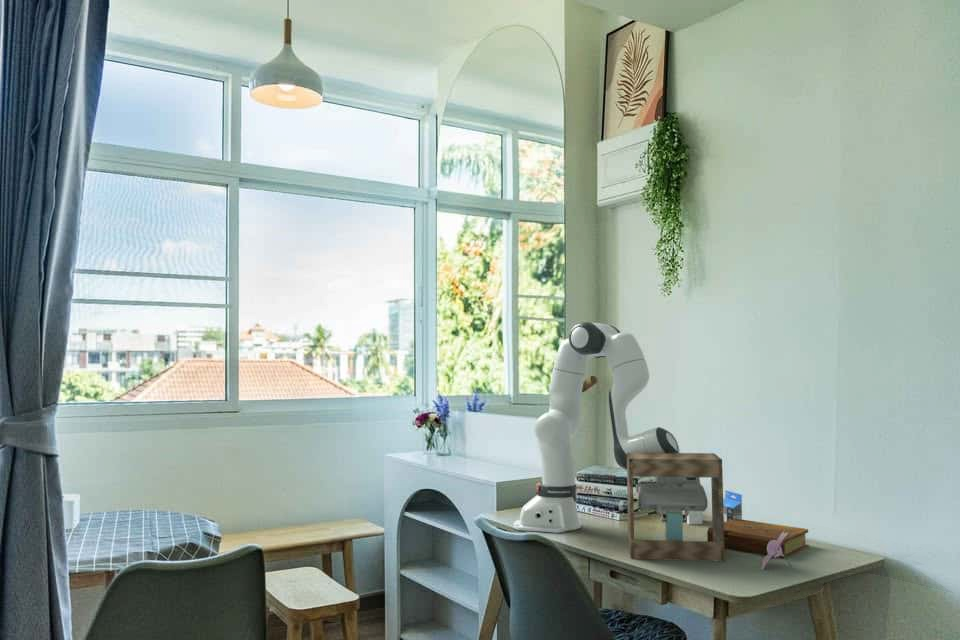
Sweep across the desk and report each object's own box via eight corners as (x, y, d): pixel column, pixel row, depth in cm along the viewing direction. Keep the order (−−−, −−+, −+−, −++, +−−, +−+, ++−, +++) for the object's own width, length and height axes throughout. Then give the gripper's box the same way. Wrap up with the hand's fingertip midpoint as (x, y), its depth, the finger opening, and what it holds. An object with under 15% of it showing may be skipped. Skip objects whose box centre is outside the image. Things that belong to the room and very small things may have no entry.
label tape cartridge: (716, 528, 252) (715, 490, 252) (726, 527, 253) (725, 490, 254) (733, 534, 243) (732, 495, 244) (743, 533, 245) (742, 494, 245)
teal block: (666, 552, 220) (667, 513, 221) (665, 549, 224) (665, 511, 225) (682, 553, 220) (682, 514, 221) (681, 550, 223) (681, 512, 224)
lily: (773, 562, 214) (755, 532, 214) (812, 552, 206) (793, 521, 207) (761, 586, 204) (743, 554, 205) (802, 576, 197) (782, 544, 198)
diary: (707, 547, 229) (707, 528, 230) (735, 536, 243) (734, 518, 243) (784, 560, 213) (783, 539, 214) (808, 548, 227) (808, 528, 227)
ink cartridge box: (681, 519, 266) (681, 476, 267) (696, 519, 266) (695, 476, 267) (688, 524, 258) (687, 480, 258) (702, 524, 258) (701, 480, 258)
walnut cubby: (630, 558, 215) (629, 458, 217) (628, 546, 229) (626, 452, 231) (724, 561, 212) (722, 459, 213) (716, 548, 226) (714, 453, 227)
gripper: (635, 475, 232) (638, 514, 222) (704, 476, 229) (711, 516, 219) (634, 487, 236) (637, 526, 226) (702, 488, 234) (708, 528, 223)
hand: (674, 521), depth 223 cm, fingers closed on teal block, 4 cm apart
